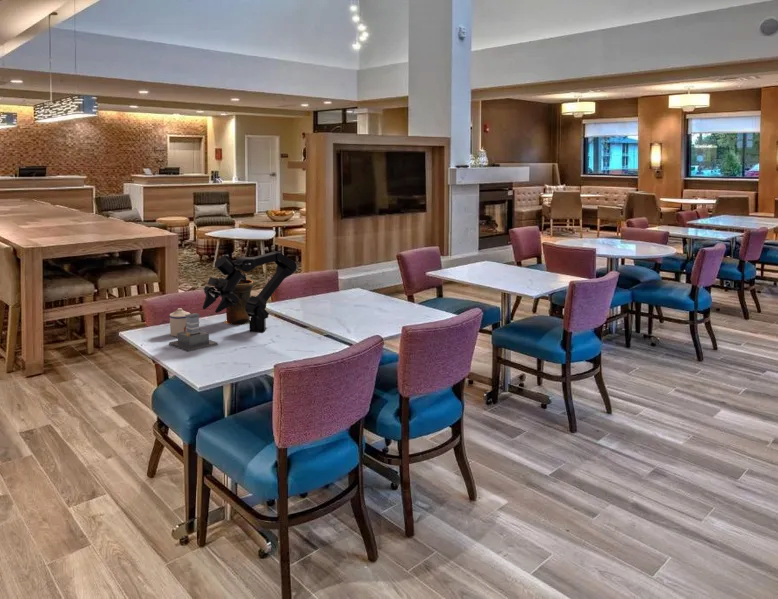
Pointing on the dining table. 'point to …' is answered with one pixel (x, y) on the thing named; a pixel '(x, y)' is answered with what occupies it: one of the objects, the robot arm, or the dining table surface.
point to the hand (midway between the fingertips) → (209, 310)
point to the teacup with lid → (178, 322)
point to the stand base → (193, 341)
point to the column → (192, 323)
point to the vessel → (240, 304)
